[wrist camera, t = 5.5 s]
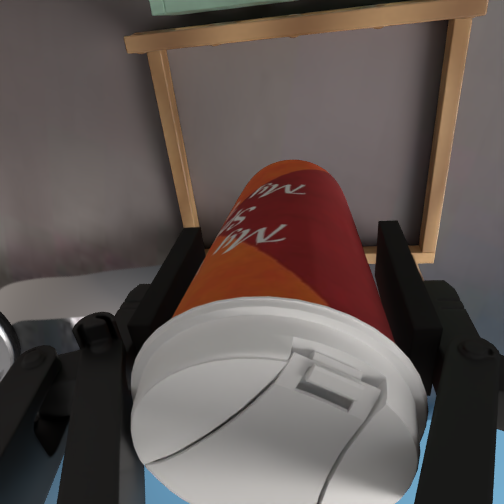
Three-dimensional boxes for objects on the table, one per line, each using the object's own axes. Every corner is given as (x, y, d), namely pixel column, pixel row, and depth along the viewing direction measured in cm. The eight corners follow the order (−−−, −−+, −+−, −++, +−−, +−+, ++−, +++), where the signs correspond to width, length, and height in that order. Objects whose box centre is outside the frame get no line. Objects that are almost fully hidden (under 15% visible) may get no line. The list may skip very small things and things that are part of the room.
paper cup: (257, 109, 19) (164, 278, 7) (396, 180, 20) (528, 437, 8) (201, 236, 23) (80, 480, 11) (318, 290, 24) (325, 569, 12)
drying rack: (194, 258, 36) (168, 312, 29) (148, 31, 26) (94, 37, 20) (430, 255, 32) (458, 316, 26) (469, -7, 23) (529, -14, 17)
